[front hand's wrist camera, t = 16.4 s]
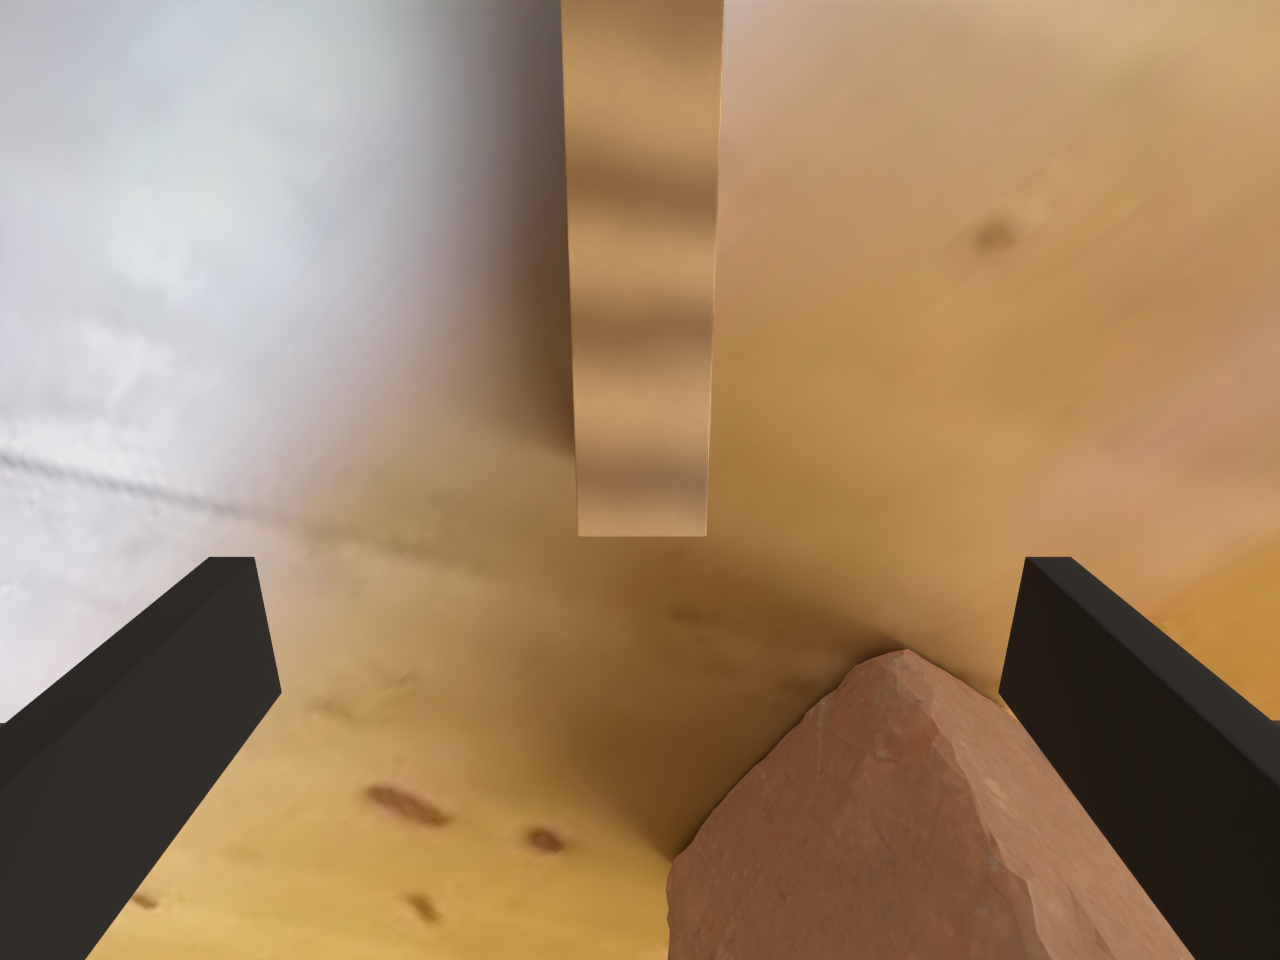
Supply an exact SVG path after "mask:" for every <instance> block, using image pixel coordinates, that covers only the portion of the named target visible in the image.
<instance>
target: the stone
mask: <svg viewBox="0 0 1280 960" xmlns="http://www.w3.org/2000/svg"><path fill="white" fill-rule="evenodd" d="M666 894H667V900H668V907H669V912H668V915H667V921H668V925H669V928H670V938H669V951H668V960H1195V959H1194V958H1193V956H1192V955H1191V954H1190V952H1189V951H1188V949H1187V948H1186V947H1185V945H1184V944H1183V943H1182V941H1181V940H1180V939H1179V937H1178V936H1177V935H1176V933H1175V932H1174V930H1173V929H1172V928H1171V926H1170V925H1169V924H1168V922H1167V921H1166V920H1165V918H1164V917H1163V916H1162V914H1161V913H1160V911H1159V910H1158V909H1157V907H1156V906H1155V905H1154V903H1153V902H1152V901H1151V899H1150V898H1149V897H1148V895H1147V894H1146V892H1145V891H1144V890H1143V888H1142V887H1141V886H1140V884H1139V883H1138V882H1137V880H1136V879H1135V878H1134V876H1133V875H1132V873H1131V872H1130V871H1129V869H1128V868H1127V867H1126V865H1125V864H1124V863H1123V861H1122V860H1121V859H1120V857H1119V856H1118V854H1117V853H1116V852H1115V850H1114V849H1113V848H1112V846H1111V845H1110V844H1109V842H1108V841H1107V840H1106V838H1105V837H1104V835H1103V834H1102V833H1101V831H1100V830H1099V829H1098V827H1097V826H1096V825H1095V823H1094V822H1093V821H1092V819H1091V818H1090V816H1089V815H1088V814H1087V812H1086V811H1085V810H1084V808H1083V807H1082V806H1081V804H1080V803H1079V801H1078V800H1077V799H1076V797H1075V796H1074V795H1073V793H1072V792H1071V791H1070V789H1069V788H1068V787H1067V785H1066V784H1065V782H1064V781H1063V780H1062V778H1061V777H1060V776H1059V774H1058V773H1057V772H1056V770H1055V769H1054V768H1053V766H1052V765H1051V763H1050V762H1049V761H1048V759H1047V758H1046V757H1045V755H1044V754H1043V753H1042V751H1041V750H1040V749H1039V747H1038V746H1037V744H1036V743H1035V742H1034V740H1033V739H1032V738H1031V736H1030V735H1029V734H1028V732H1027V731H1026V730H1025V728H1024V727H1023V725H1022V724H1021V723H1019V722H1018V721H1017V720H1016V719H1014V718H1013V717H1012V716H1011V715H1009V714H1008V713H1007V712H1006V711H1004V710H1003V709H1002V708H1001V707H999V706H998V705H997V704H996V703H994V702H993V701H991V700H989V699H988V698H986V697H984V696H983V695H981V694H980V693H978V692H977V691H975V690H974V689H972V688H971V687H969V686H968V685H966V684H965V683H964V682H962V681H961V680H959V679H957V678H955V677H953V676H952V675H951V674H949V673H948V672H946V671H944V670H942V669H941V668H939V667H937V666H935V665H933V664H931V663H930V662H928V661H926V660H925V659H923V658H922V657H920V656H919V655H918V654H916V653H914V652H912V651H910V650H909V649H904V650H899V651H894V652H890V653H887V654H884V655H881V656H878V657H875V658H872V659H870V660H867V661H865V662H863V663H860V664H858V665H856V666H854V667H853V669H852V670H851V671H850V672H849V673H848V674H847V675H846V677H845V678H844V680H843V681H842V683H841V684H840V685H839V687H838V688H837V689H836V690H834V691H833V692H831V693H830V694H828V695H826V696H825V697H823V698H822V699H821V700H820V701H819V702H818V703H817V704H816V705H814V706H813V707H812V708H811V709H810V710H809V711H807V712H806V714H805V716H804V718H803V719H802V721H801V723H799V724H798V725H797V726H796V727H795V728H793V729H792V730H791V731H790V732H789V733H787V735H786V736H785V737H784V738H783V739H782V740H781V741H780V742H779V743H778V744H777V745H776V747H775V748H774V749H773V750H772V751H771V752H770V753H769V754H768V755H767V756H766V757H765V758H764V759H763V760H762V761H761V762H759V763H758V764H757V765H755V766H754V767H753V768H752V769H751V770H750V771H749V772H748V773H747V774H746V775H745V776H744V777H743V778H742V780H741V781H740V782H739V783H738V784H737V785H736V786H735V787H734V788H733V789H732V790H731V791H730V792H729V793H728V795H727V796H726V797H725V798H724V800H723V801H722V802H721V803H720V804H719V805H718V806H717V807H716V808H715V809H714V810H713V811H712V813H711V814H710V815H709V817H708V818H707V820H706V821H705V822H704V824H703V825H702V826H701V828H700V829H699V831H698V833H697V834H696V836H695V838H694V839H693V841H692V843H691V844H690V845H689V846H688V847H687V848H686V849H685V850H684V851H683V852H682V853H680V854H678V856H677V857H676V858H675V859H674V860H673V864H672V867H671V870H670V873H669V875H668V879H667V886H666Z"/></svg>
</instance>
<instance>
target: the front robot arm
mask: <svg viewBox="0 0 1280 960" xmlns="http://www.w3.org/2000/svg"><path fill="white" fill-rule="evenodd" d="M281 693H282V692H281V687H280V682H279V677H278V672H277V667H276V662H275V657H274V652H273V647H272V642H271V637H270V632H269V627H268V622H267V617H266V612H265V607H264V603H263V598H262V593H261V588H260V583H259V578H258V573H257V568H256V563H255V558H254V557H209V558H207V559H206V560H205V561H204V562H202V563H201V564H200V565H199V566H198V567H196V568H195V569H194V570H193V571H191V572H190V573H189V574H188V575H186V576H185V577H184V578H183V579H182V580H180V581H179V582H178V583H177V584H175V585H174V586H173V587H172V588H171V589H169V590H168V591H167V592H166V593H164V594H163V595H162V596H161V597H159V598H158V599H157V600H156V601H155V602H153V603H152V604H151V605H150V606H148V607H147V608H146V609H145V610H144V611H142V612H141V613H140V614H139V615H137V616H136V617H135V618H134V619H132V620H131V621H130V622H129V623H128V624H126V625H125V626H124V627H123V628H121V629H120V630H119V631H118V632H117V633H115V634H114V635H113V636H112V637H110V638H109V639H108V640H107V641H105V642H104V643H103V644H102V645H101V646H99V647H98V648H97V649H96V650H94V651H93V652H92V653H91V654H90V655H88V656H87V657H86V658H85V659H83V660H82V661H81V662H80V663H78V664H77V665H76V666H75V667H74V668H72V669H71V670H70V671H69V672H67V673H66V674H65V675H64V676H63V677H61V678H60V679H59V680H58V681H56V682H55V683H54V684H53V685H51V686H50V687H49V688H48V689H47V690H45V691H44V692H43V693H42V694H40V695H39V696H38V697H37V698H35V699H34V700H33V701H32V702H31V703H29V704H28V705H27V706H26V707H24V708H23V709H22V710H21V711H20V712H18V713H17V714H16V715H15V716H13V717H12V718H11V719H10V720H8V721H7V722H6V723H0V960H85V959H86V958H87V956H88V955H89V954H90V952H91V951H92V949H93V948H94V947H95V945H96V944H97V943H98V941H99V940H100V939H101V937H102V936H103V935H104V933H105V932H106V930H107V929H108V928H109V926H110V925H111V924H112V922H113V921H114V920H115V918H116V917H117V916H118V914H119V913H120V911H121V910H122V909H123V907H124V906H125V905H126V903H127V902H128V901H129V899H130V898H131V897H132V895H133V894H134V892H135V891H136V890H137V888H138V887H139V886H140V884H141V883H142V882H143V880H144V879H145V878H146V876H147V875H148V873H149V872H150V871H151V869H152V868H153V867H154V865H155V864H156V863H157V861H158V860H159V859H160V857H161V856H162V854H163V853H164V852H165V850H166V849H167V848H168V846H169V845H170V844H171V842H172V841H173V840H174V838H175V837H176V835H177V834H178V833H179V831H180V830H181V829H182V827H183V826H184V825H185V823H186V822H187V821H188V819H189V818H190V816H191V815H192V814H193V812H194V811H195V810H196V808H197V807H198V806H199V804H200V803H201V801H202V800H203V799H204V797H205V796H206V795H207V793H208V792H209V791H210V789H211V788H212V787H213V785H214V784H215V782H216V781H217V780H218V778H219V777H220V776H221V774H222V773H223V772H224V770H225V769H226V768H227V766H228V765H229V763H230V762H231V761H232V759H233V758H234V757H235V755H236V754H237V753H238V751H239V750H240V749H241V747H242V746H243V744H244V743H245V742H246V740H247V739H248V738H249V736H250V735H251V734H252V732H253V731H254V730H255V728H256V727H257V725H258V724H259V723H260V721H261V720H262V719H263V717H264V716H265V715H266V713H267V712H268V711H269V709H270V708H271V706H272V705H273V704H274V702H275V701H276V700H277V698H278V697H279V696H280V694H281ZM998 693H999V694H1000V696H1001V697H1002V698H1003V700H1004V701H1005V702H1006V704H1007V705H1008V706H1009V708H1010V709H1011V711H1012V712H1013V713H1014V715H1015V716H1016V717H1017V719H1018V720H1019V721H1020V723H1021V724H1022V725H1023V727H1024V728H1025V730H1026V731H1027V732H1028V734H1029V735H1030V736H1031V738H1032V739H1033V740H1034V742H1035V743H1036V744H1037V746H1038V747H1039V749H1040V750H1041V751H1042V753H1043V754H1044V755H1045V757H1046V758H1047V759H1048V761H1049V762H1050V763H1051V765H1052V766H1053V768H1054V769H1055V770H1056V772H1057V773H1058V774H1059V776H1060V777H1061V778H1062V780H1063V781H1064V782H1065V784H1066V785H1067V787H1068V788H1069V789H1070V791H1071V792H1072V793H1073V795H1074V796H1075V797H1076V799H1077V800H1078V801H1079V803H1080V804H1081V806H1082V807H1083V808H1084V810H1085V811H1086V812H1087V814H1088V815H1089V816H1090V818H1091V819H1092V821H1093V822H1094V823H1095V825H1096V826H1097V827H1098V829H1099V830H1100V831H1101V833H1102V834H1103V835H1104V837H1105V838H1106V840H1107V841H1108V842H1109V844H1110V845H1111V846H1112V848H1113V849H1114V850H1115V852H1116V853H1117V854H1118V856H1119V857H1120V859H1121V860H1122V861H1123V863H1124V864H1125V865H1126V867H1127V868H1128V869H1129V871H1130V872H1131V873H1132V875H1133V876H1134V878H1135V879H1136V880H1137V882H1138V883H1139V884H1140V886H1141V887H1142V888H1143V890H1144V891H1145V892H1146V894H1147V895H1148V897H1149V898H1150V899H1151V901H1152V902H1153V903H1154V905H1155V906H1156V907H1157V909H1158V910H1159V911H1160V913H1161V914H1162V916H1163V917H1164V918H1165V920H1166V921H1167V922H1168V924H1169V925H1170V926H1171V928H1172V929H1173V930H1174V932H1175V933H1176V935H1177V936H1178V937H1179V939H1180V940H1181V941H1182V943H1183V944H1184V945H1185V947H1186V948H1187V949H1188V951H1189V952H1190V954H1191V955H1192V956H1193V958H1194V959H1195V960H1280V721H1272V720H1270V719H1269V718H1268V717H1267V716H1265V715H1264V714H1263V713H1262V712H1260V711H1259V710H1258V709H1257V708H1256V707H1254V706H1253V705H1252V704H1251V703H1249V702H1248V701H1247V700H1246V699H1245V698H1243V697H1242V696H1241V695H1240V694H1238V693H1237V692H1236V691H1235V690H1233V689H1232V688H1231V687H1230V686H1229V685H1227V684H1226V683H1225V682H1224V681H1222V680H1221V679H1220V678H1219V677H1217V676H1216V675H1215V674H1214V673H1213V672H1211V671H1210V670H1209V669H1208V668H1206V667H1205V666H1204V665H1203V664H1202V663H1200V662H1199V661H1198V660H1197V659H1195V658H1194V657H1193V656H1192V655H1190V654H1189V653H1188V652H1187V651H1186V650H1184V649H1183V648H1182V647H1181V646H1179V645H1178V644H1177V643H1176V642H1175V641H1173V640H1172V639H1171V638H1170V637H1168V636H1167V635H1166V634H1165V633H1163V632H1162V631H1161V630H1160V629H1159V628H1157V627H1156V626H1155V625H1154V624H1152V623H1151V622H1150V621H1149V620H1148V619H1146V618H1145V617H1144V616H1143V615H1141V614H1140V613H1139V612H1138V611H1136V610H1135V609H1134V608H1133V607H1132V606H1130V605H1129V604H1128V603H1127V602H1125V601H1124V600H1123V599H1122V598H1121V597H1119V596H1118V595H1117V594H1116V593H1114V592H1113V591H1112V590H1111V589H1109V588H1108V587H1107V586H1106V585H1105V584H1103V583H1102V582H1101V581H1100V580H1098V579H1097V578H1096V577H1095V576H1094V575H1092V574H1091V573H1090V572H1089V571H1087V570H1086V569H1085V568H1084V567H1082V566H1081V565H1080V564H1079V563H1078V562H1076V561H1075V560H1074V559H1073V558H1071V557H1026V558H1025V563H1024V568H1023V573H1022V578H1021V583H1020V588H1019V593H1018V598H1017V603H1016V607H1015V612H1014V617H1013V622H1012V627H1011V632H1010V637H1009V642H1008V647H1007V652H1006V657H1005V662H1004V667H1003V672H1002V677H1001V682H1000V687H999V691H998Z"/></svg>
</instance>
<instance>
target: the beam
mask: <svg viewBox="0 0 1280 960" xmlns="http://www.w3.org/2000/svg"><path fill="white" fill-rule="evenodd" d="M724 5H725V0H560V10H561V40H562V71H563V101H564V132H565V162H566V193H567V223H568V254H569V284H570V315H571V345H572V375H573V406H574V436H575V467H576V497H577V528H578V536H579V537H705V536H706V535H707V507H708V477H709V448H710V418H711V389H712V359H713V330H714V300H715V271H716V241H717V212H718V182H719V153H720V123H721V94H722V64H723V35H724Z"/></svg>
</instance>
